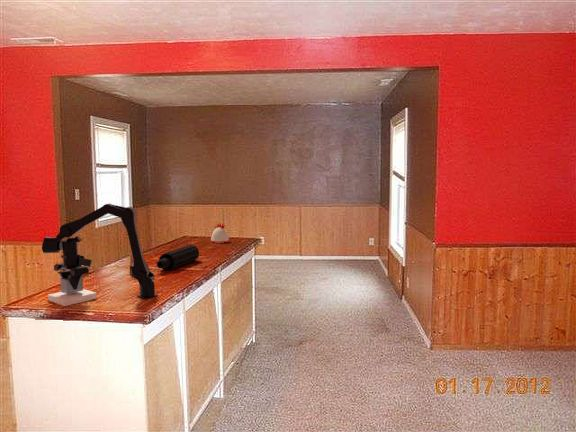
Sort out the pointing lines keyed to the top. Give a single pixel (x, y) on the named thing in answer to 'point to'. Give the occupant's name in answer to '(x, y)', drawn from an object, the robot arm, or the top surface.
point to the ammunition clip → (131, 263)
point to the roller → (178, 257)
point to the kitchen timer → (219, 234)
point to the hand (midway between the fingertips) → (72, 288)
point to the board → (72, 297)
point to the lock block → (70, 285)
